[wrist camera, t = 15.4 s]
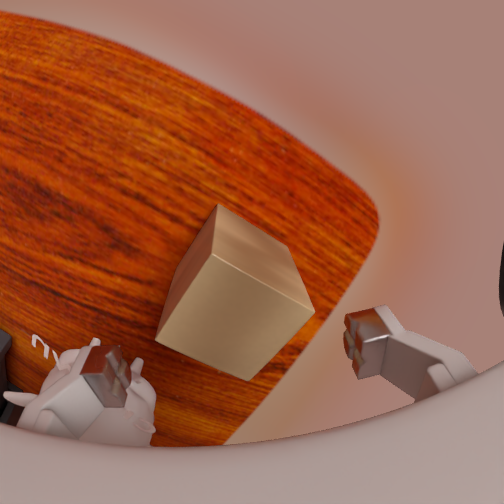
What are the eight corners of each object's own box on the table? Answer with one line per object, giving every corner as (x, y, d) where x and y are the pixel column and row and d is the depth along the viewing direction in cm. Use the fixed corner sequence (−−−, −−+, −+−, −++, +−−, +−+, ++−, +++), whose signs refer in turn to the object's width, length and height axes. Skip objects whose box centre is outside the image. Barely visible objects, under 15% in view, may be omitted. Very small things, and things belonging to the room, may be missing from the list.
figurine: (174, 397, 23) (223, 360, 17) (154, 484, 17) (199, 494, 11) (49, 340, 20) (41, 273, 14) (14, 423, 14) (-25, 396, 8)
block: (287, 246, 16) (316, 312, 11) (242, 305, 18) (248, 382, 12) (218, 202, 15) (211, 253, 9) (175, 268, 16) (154, 340, 11)
